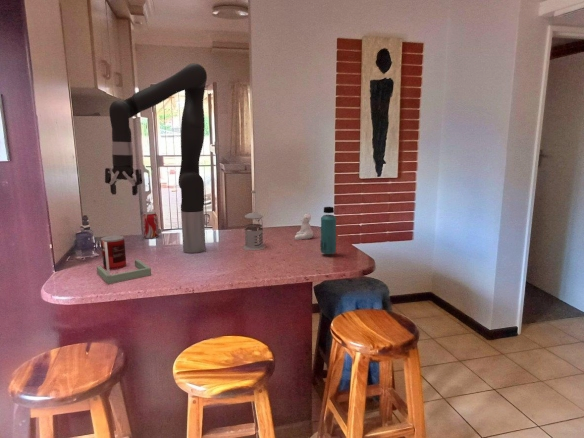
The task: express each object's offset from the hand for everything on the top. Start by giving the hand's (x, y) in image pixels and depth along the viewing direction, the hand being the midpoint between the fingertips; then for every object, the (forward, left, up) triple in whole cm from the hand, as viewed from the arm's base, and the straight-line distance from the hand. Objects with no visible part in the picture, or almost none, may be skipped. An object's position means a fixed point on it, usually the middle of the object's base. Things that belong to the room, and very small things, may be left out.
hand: (124, 194), depth 165 cm
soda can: (-6, -28, -25) cm, 38 cm away
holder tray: (-2, +25, -25) cm, 35 cm away
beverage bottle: (-79, +20, -25) cm, 85 cm away
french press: (-52, 0, -25) cm, 58 cm away
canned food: (+3, +15, -25) cm, 29 cm away
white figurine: (-77, -10, -25) cm, 82 cm away
